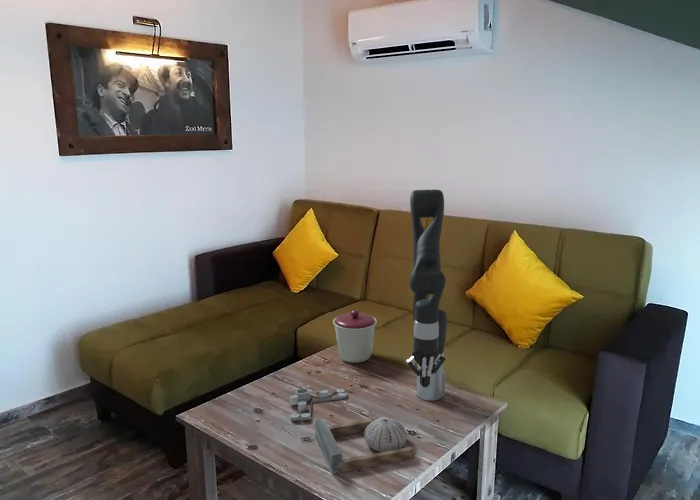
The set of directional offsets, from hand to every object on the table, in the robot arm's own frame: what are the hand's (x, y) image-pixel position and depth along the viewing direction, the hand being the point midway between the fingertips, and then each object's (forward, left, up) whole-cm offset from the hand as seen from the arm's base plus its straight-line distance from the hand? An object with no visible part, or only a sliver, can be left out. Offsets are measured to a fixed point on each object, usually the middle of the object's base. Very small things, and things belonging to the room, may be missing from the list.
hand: (424, 386), depth 177 cm
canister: (+3, -63, -18) cm, 65 cm away
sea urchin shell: (+13, 0, -18) cm, 22 cm away
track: (+20, 0, -17) cm, 27 cm away
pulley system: (+29, -32, -18) cm, 47 cm away
